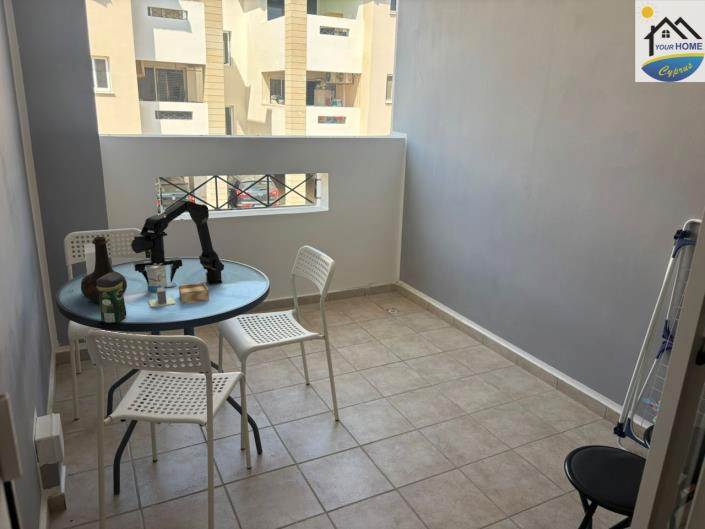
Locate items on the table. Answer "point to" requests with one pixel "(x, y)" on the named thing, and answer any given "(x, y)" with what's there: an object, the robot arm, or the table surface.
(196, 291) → the oak box
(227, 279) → the table surface
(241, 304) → the table surface
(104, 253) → the glass bottle
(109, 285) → the coffee jar
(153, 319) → the table surface
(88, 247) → the milk
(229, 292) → the table surface
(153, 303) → the cover plate
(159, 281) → the ink box
